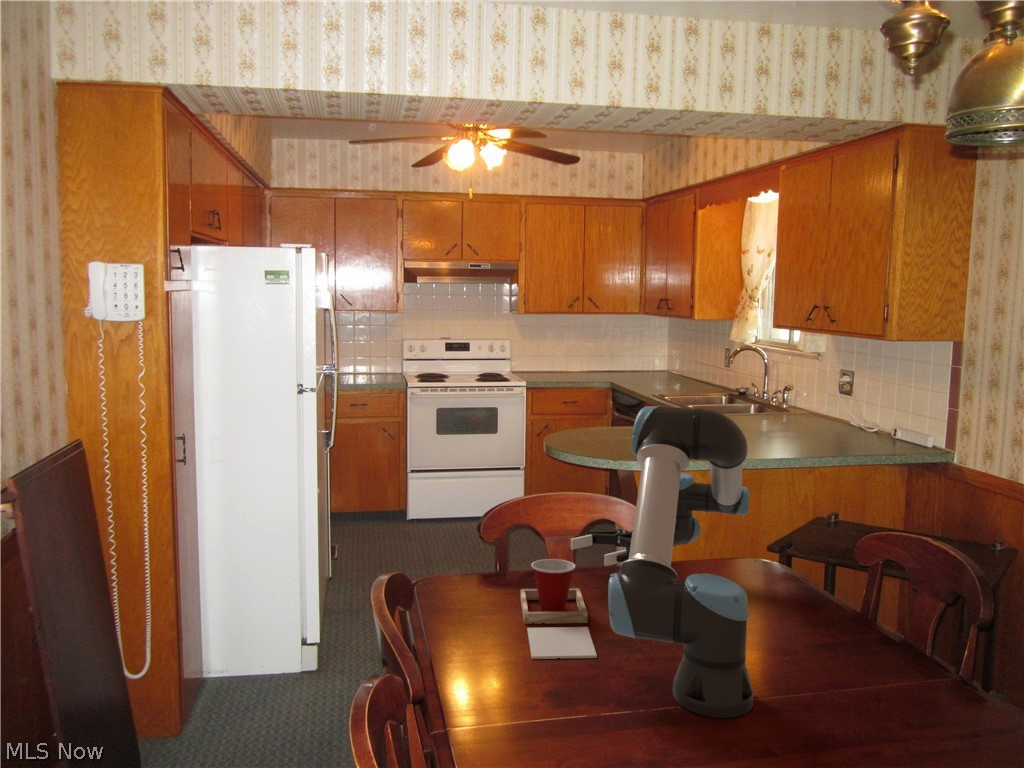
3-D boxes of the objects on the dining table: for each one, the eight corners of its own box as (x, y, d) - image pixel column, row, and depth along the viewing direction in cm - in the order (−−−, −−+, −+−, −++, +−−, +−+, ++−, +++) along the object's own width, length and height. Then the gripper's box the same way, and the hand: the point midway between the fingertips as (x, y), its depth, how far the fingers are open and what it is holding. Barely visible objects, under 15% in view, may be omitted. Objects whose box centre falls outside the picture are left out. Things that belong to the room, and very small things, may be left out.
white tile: (596, 657, 167) (596, 655, 167) (531, 658, 167) (531, 656, 167) (587, 629, 181) (587, 626, 181) (527, 630, 181) (527, 627, 181)
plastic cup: (575, 602, 197) (576, 556, 195) (574, 620, 186) (575, 572, 184) (532, 600, 198) (532, 554, 196) (529, 618, 187) (529, 570, 186)
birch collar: (587, 622, 185) (587, 612, 184) (524, 623, 184) (524, 613, 184) (579, 597, 200) (579, 588, 199) (520, 598, 199) (520, 589, 199)
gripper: (684, 565, 198) (619, 582, 186) (619, 537, 219) (558, 551, 207) (685, 536, 197) (620, 552, 185) (620, 511, 217) (558, 524, 206)
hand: (587, 552), depth 196 cm, fingers open, 13 cm apart
